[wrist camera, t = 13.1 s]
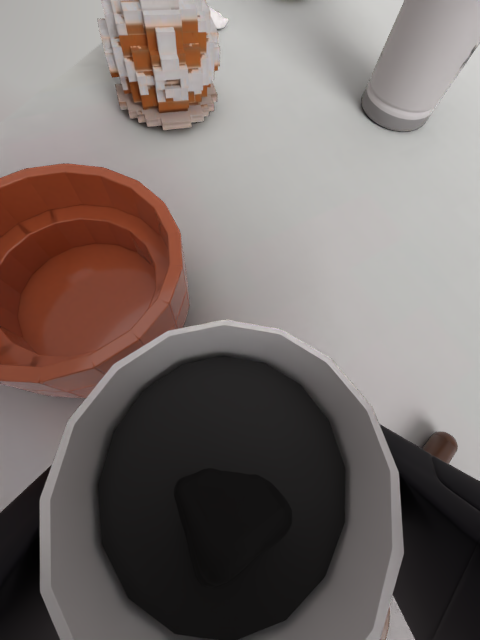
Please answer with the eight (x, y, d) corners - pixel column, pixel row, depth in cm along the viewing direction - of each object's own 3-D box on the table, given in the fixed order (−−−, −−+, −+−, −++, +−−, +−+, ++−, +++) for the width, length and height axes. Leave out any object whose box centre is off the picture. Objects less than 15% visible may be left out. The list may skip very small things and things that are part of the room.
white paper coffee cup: (306, 490, 14) (478, 582, 5) (179, 567, 13) (98, 902, 4) (247, 369, 16) (296, 280, 7) (131, 422, 15) (3, 395, 6)
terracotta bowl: (179, 404, 15) (165, 389, 11) (-40, 393, 15) (-156, 372, 10) (198, 238, 19) (194, 176, 15) (28, 222, 19) (-32, 152, 14)
